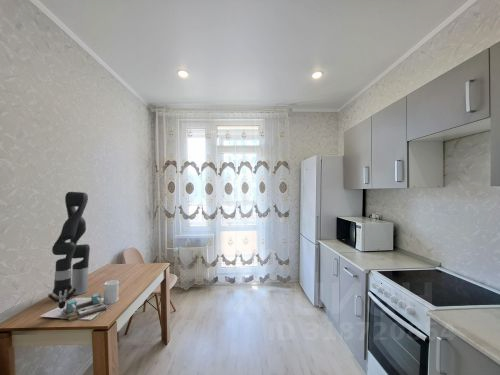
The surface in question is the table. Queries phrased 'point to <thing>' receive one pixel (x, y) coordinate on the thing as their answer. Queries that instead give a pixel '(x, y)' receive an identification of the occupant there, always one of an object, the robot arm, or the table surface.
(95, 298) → the fixed leg
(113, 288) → the mug
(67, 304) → the sliding leg
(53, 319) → the table surface
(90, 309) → the board
